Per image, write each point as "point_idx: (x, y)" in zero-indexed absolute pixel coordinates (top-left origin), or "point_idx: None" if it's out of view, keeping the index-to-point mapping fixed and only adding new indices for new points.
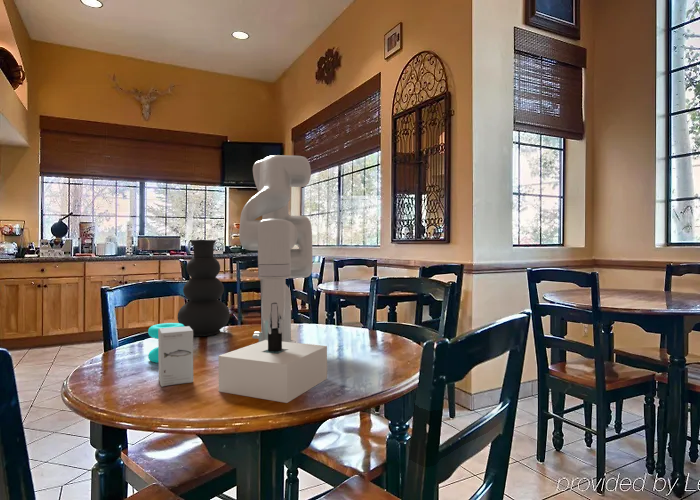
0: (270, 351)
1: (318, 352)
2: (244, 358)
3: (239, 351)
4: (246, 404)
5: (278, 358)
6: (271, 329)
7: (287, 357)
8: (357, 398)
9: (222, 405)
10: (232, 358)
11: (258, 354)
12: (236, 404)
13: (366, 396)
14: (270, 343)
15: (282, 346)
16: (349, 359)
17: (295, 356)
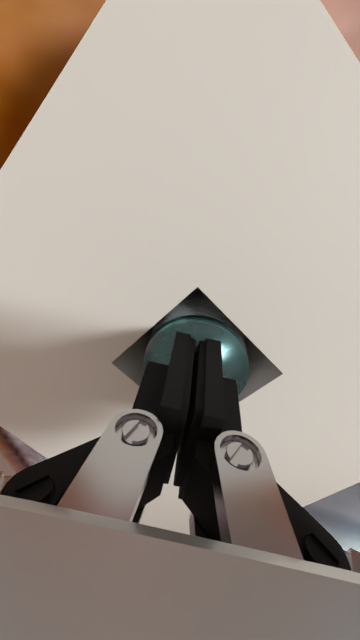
0: (173, 340)
1: None
2: (39, 136)
3: (293, 121)
4: (11, 144)
5: (8, 342)
6: (41, 463)
7: (21, 384)
8: (16, 443)
9: (13, 27)
10: (95, 26)
11: (132, 257)
12: (17, 99)
13: (27, 461)
14: (166, 370)
15: (281, 425)
16: (356, 546)
17: (34, 417)
